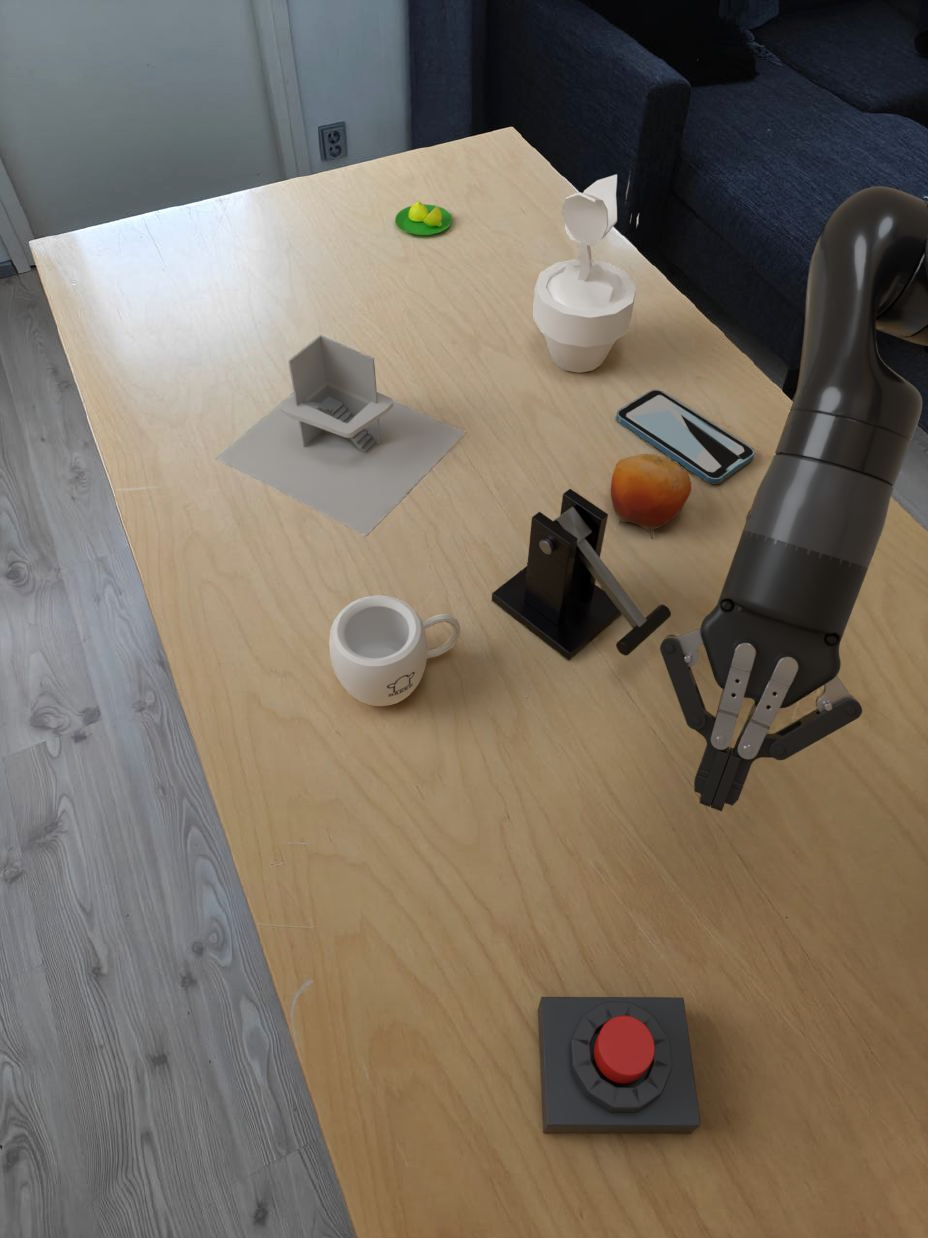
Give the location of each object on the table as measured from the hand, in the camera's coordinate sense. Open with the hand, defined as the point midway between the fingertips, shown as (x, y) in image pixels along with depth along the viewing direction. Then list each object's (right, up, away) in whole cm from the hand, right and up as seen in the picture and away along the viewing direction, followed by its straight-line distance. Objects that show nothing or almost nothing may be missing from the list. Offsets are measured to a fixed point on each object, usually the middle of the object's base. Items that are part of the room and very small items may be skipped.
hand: (711, 804), depth 59 cm
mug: (-22, +7, +26) cm, 35 cm away
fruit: (+3, +23, +39) cm, 45 cm away
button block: (-5, -20, +6) cm, 21 cm away
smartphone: (+9, +32, +45) cm, 56 cm away
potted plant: (-2, +44, +54) cm, 70 cm away
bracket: (-7, +13, +31) cm, 34 cm away
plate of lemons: (-21, +68, +72) cm, 101 cm away
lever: (-4, +15, +23) cm, 28 cm away
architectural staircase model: (-29, +31, +44) cm, 62 cm away
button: (-5, -17, +2) cm, 18 cm away
